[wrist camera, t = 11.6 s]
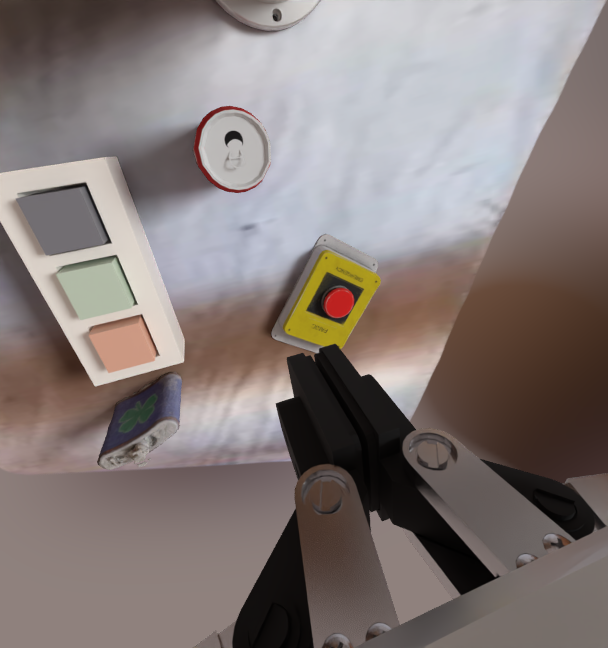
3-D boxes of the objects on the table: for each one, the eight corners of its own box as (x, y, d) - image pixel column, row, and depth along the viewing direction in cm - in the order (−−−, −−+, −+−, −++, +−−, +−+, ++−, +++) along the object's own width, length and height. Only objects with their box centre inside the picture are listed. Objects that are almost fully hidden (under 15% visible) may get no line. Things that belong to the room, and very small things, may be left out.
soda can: (254, 178, 35) (281, 189, 24) (201, 186, 34) (206, 200, 23) (244, 116, 32) (269, 99, 22) (186, 122, 31) (184, 107, 21)
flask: (173, 367, 41) (169, 428, 32) (188, 382, 43) (187, 444, 34) (109, 405, 41) (85, 477, 32) (125, 419, 43) (108, 492, 34)
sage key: (70, 260, 31) (55, 274, 28) (120, 250, 32) (111, 262, 28) (91, 303, 33) (80, 320, 30) (137, 292, 34) (131, 308, 31)
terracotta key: (98, 317, 34) (88, 335, 31) (143, 306, 35) (138, 323, 31) (116, 352, 36) (108, 373, 33) (158, 341, 37) (154, 360, 34)
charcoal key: (36, 193, 28) (15, 198, 25) (92, 184, 29) (79, 188, 26) (62, 244, 30) (45, 255, 27) (113, 234, 31) (103, 244, 28)
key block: (6, 173, 29) (-26, 176, 24) (116, 156, 30) (104, 157, 26) (105, 360, 38) (95, 386, 34) (184, 339, 40) (183, 362, 36)
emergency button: (396, 270, 40) (336, 371, 44) (378, 260, 44) (325, 354, 48) (334, 238, 36) (274, 352, 40) (321, 230, 40) (267, 335, 44)
